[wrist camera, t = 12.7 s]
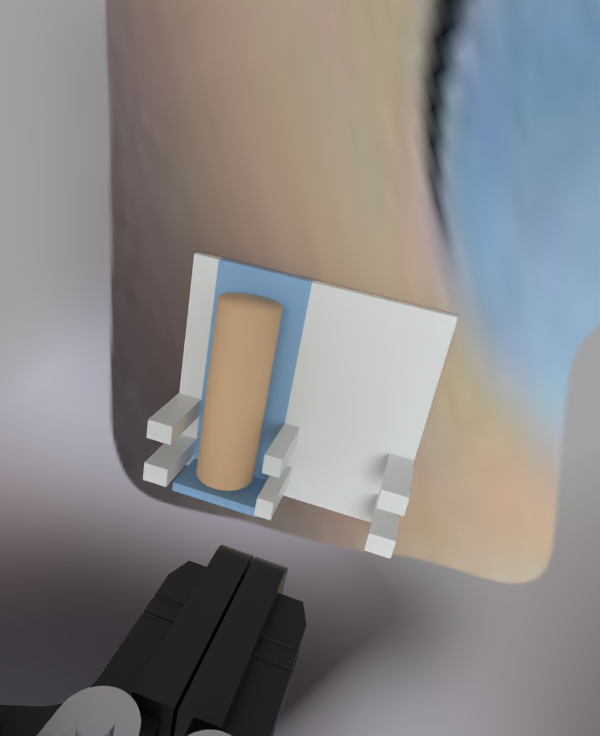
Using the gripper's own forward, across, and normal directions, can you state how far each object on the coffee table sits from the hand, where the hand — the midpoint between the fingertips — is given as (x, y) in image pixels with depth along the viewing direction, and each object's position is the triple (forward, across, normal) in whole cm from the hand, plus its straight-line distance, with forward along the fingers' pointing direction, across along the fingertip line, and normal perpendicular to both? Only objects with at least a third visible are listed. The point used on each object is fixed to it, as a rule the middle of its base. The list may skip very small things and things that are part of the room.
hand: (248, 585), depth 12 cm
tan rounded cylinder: (+20, +6, +6) cm, 22 cm away
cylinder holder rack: (+21, +3, +6) cm, 22 cm away
